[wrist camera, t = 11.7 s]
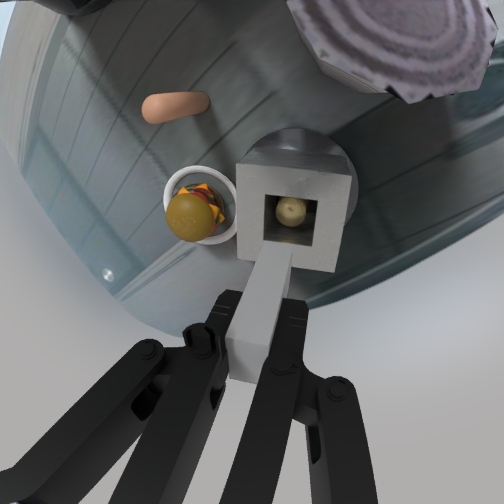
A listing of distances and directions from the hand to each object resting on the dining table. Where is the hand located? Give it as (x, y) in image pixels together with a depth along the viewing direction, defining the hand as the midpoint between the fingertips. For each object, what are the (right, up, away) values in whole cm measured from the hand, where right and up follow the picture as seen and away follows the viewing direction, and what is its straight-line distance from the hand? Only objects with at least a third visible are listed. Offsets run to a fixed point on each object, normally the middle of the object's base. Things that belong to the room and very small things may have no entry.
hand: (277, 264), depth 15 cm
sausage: (-6, +14, +8) cm, 17 cm away
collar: (+3, +6, +9) cm, 11 cm away
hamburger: (-6, +6, +14) cm, 17 cm away
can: (+8, +18, +1) cm, 20 cm away
